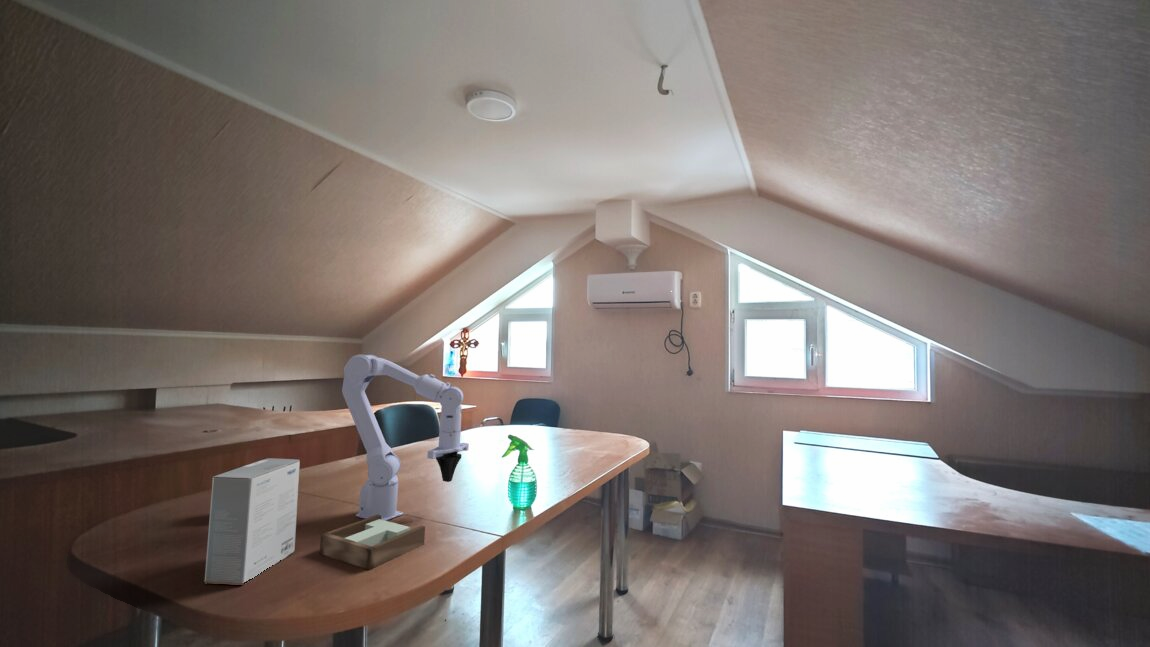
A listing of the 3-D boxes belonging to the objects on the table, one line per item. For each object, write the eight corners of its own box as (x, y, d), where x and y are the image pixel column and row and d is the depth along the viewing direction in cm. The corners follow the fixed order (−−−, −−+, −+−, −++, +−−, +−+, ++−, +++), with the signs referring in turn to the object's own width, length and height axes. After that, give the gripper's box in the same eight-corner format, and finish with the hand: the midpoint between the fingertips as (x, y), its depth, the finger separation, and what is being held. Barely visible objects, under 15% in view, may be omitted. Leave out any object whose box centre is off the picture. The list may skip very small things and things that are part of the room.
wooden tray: (319, 553, 100) (320, 534, 100) (376, 531, 114) (377, 514, 114) (369, 570, 93) (370, 549, 94) (424, 544, 107) (425, 526, 107)
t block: (333, 554, 100) (334, 535, 100) (378, 536, 111) (379, 519, 111) (365, 564, 96) (366, 545, 96) (409, 544, 106) (410, 527, 107)
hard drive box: (261, 550, 101) (269, 457, 102) (295, 552, 100) (302, 459, 102) (201, 585, 85) (211, 475, 87) (241, 587, 85) (251, 477, 86)
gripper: (443, 435, 120) (440, 489, 119) (478, 429, 133) (475, 477, 132) (422, 433, 123) (419, 485, 122) (458, 426, 136) (455, 473, 135)
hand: (447, 481), depth 127 cm, fingers closed
